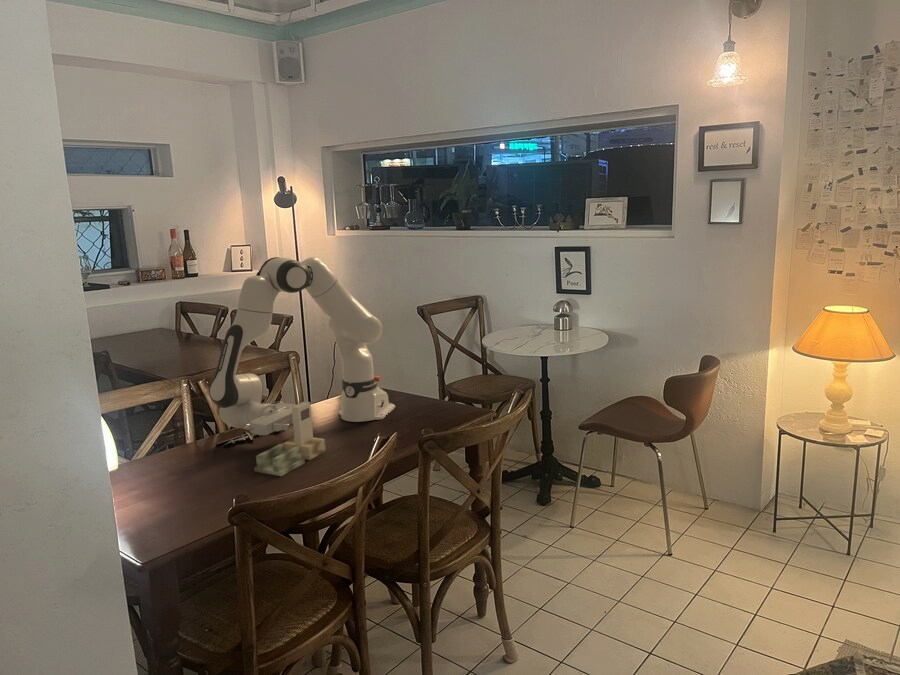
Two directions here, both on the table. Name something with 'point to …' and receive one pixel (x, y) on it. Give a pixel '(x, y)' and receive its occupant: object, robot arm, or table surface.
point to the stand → (308, 447)
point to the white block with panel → (302, 423)
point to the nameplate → (241, 439)
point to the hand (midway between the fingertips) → (297, 422)
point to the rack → (279, 460)
